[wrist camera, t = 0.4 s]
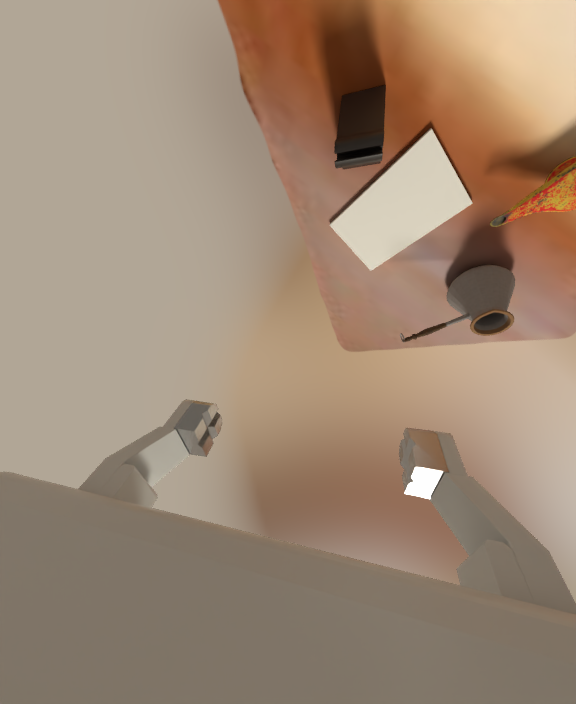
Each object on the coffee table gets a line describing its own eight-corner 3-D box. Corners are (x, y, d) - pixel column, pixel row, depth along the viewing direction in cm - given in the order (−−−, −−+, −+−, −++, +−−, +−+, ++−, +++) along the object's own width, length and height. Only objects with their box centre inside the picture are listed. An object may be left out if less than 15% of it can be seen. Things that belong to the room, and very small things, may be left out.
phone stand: (342, 94, 35) (332, 110, 28) (386, 84, 34) (387, 97, 27) (343, 168, 42) (335, 195, 35) (379, 162, 41) (379, 190, 33)
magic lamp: (480, 185, 40) (499, 215, 33) (657, 118, 31) (731, 141, 24) (479, 225, 44) (495, 258, 38) (633, 176, 35) (690, 209, 29)
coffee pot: (516, 251, 46) (548, 302, 37) (504, 297, 54) (529, 349, 45) (395, 277, 56) (397, 322, 47) (399, 313, 64) (402, 358, 55)
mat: (431, 127, 36) (431, 128, 35) (471, 201, 42) (472, 203, 41) (330, 223, 50) (329, 225, 49) (370, 268, 56) (370, 270, 55)
